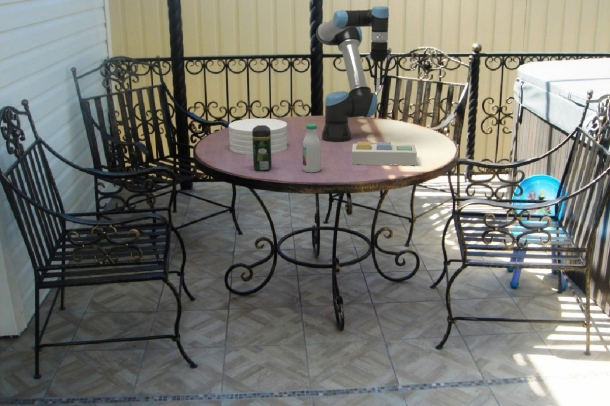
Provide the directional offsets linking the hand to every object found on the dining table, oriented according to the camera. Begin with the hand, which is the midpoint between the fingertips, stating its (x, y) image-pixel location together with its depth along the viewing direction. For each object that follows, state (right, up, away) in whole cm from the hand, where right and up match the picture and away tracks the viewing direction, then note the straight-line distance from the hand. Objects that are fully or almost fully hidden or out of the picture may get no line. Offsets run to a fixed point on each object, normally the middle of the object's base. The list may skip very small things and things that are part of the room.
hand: (377, 92), depth 313 cm
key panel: (+1, -34, -16) cm, 37 cm away
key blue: (+1, -30, -17) cm, 34 cm away
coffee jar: (-53, -38, -26) cm, 70 cm away
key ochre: (-8, -30, -17) cm, 35 cm away
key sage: (+10, -32, -18) cm, 37 cm away
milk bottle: (-32, -39, -29) cm, 58 cm away
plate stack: (-57, -26, +9) cm, 63 cm away
